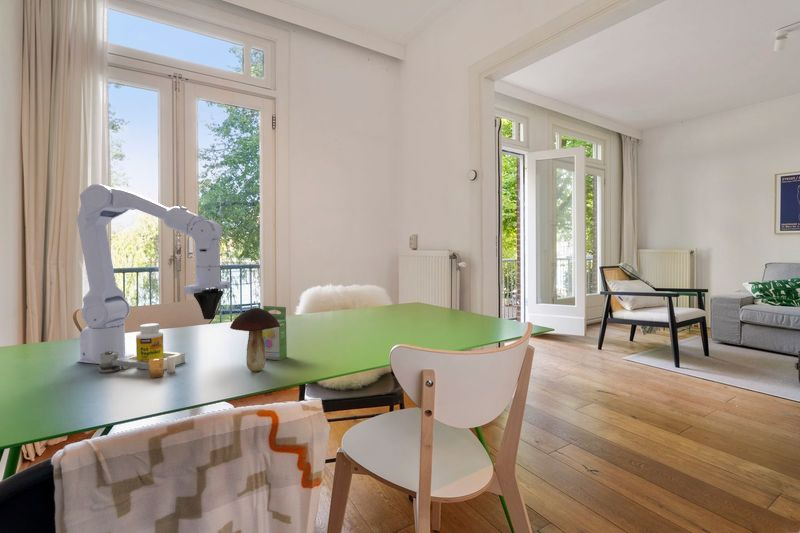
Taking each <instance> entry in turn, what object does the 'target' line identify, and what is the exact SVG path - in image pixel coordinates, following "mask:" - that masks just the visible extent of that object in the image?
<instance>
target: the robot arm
mask: <svg viewBox="0 0 800 533" xmlns="http://www.w3.org/2000/svg"><path fill="white" fill-rule="evenodd" d="M79 198H80V203H81V204H80V208H79V211H78V214H77V218H76V219H77V221H76V222H77V227H78V234H79V237H80V238H79V239H80V244H81V248H82V254H83V260H84V266H85V270H86V276H87V277H86V278H87V281H88V282H87V283H88V287H89V291H87V293H86V294H85V295H84V296H83V298H82V303H83V305H82V306H83V307H82V309H81V319H82V320H83V322H84V323H85V325H87V326H84V328H83V329H82V330H81V331H80V334H79V353H80V354H79V355H80V356H79V359H77V360H76V362H78V363H87V364H94V365H95V364H98V365H100V356H99V355H100V354H102V353H105V352H107V351H113V352H119V358H122V359H124V358H127V357H131V356H134V355H135V354H132V353H126V337H125V336H126V334H125V332H126V331H125V323H126V318H127V317H129V315H130V312H131V306H130V303H129V302H128V301H127V300H126V298H125V293H124V291H123V290H122V289H120V288H119V287H118V286H117V283H116V277H115V272H114V265H113V261H112V255H111V250H110V249H111V248H110V244H109V238H108V233H107V226H108V224H110V223H111V222H112V221H113V219H115V218H117V217H119V216H122V215H123V214H126V213H127V212H128V211H131V210H133V211H134V210H135V211H136V210H138V211H139V212H142V213H145V214H147V215H151V216H153V217H155V218H159V219H161V220H163V222H164V224H165V226H166V227H168V228H169V229H172V230H174V231H177V232H180V233H181V234H183V235H186V236H188V237H191V238H192V239H193V241H194V245H195V246H194V247H195V248H194V251H195V252H194V254H195V283H193V284H189V285H183V295H193V297H194V299H195V300H196V302H197V303H198V305H199V307H200V310H201V314H202V316H203V320H214V319H215V316H216V312H217V308H218V304H219V302H220V300H221V298H222V296H224V291H223V290H225V289H227V290H228V289H231V281H227V280H223V281H221V248H220V243H221V242H220V240H221V239H222V237H223V234H224V231H223V227H222V226H221V224H220V223H218V222H217V221H216V220H215V219H206V216H205V215H203V214H196V213H194V212H191V211H189V210H188V208H187V207H185V206H183V205H181V206H180V207H179V206H177V205H176V206H172V207H167V206H165V205H162V204H160V203H159V202H156V201H154V200H152V199H150V198H148V197H145V196H143V195H141V194H139V193H135V192H132V191H127V190H125V189H122V188H114V187H110V186H107V185H103V184H100V183H94V184H91V185H89V186H87V187H85V189H84V190H83V191H82V192H81V193H80V194H79Z"/></svg>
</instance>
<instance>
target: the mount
mask: <svg viewBox="0 0 800 533" xmlns="http://www.w3.org/2000/svg"><path fill="white" fill-rule="evenodd" d="M119 371H121V369H120V366H119V367H117V368H113V369H106V370H102V369H100V367H99V368H98V373H99V374H103V375H105V374H113V373H117V372H119Z"/></svg>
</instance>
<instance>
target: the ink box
mask: <svg viewBox="0 0 800 533" xmlns="http://www.w3.org/2000/svg"><path fill="white" fill-rule="evenodd" d="M262 309H263V310H266V311H268V312H269V311H277V312H279V313H270V312H269V313H270V314H272V315H273V316H274V317H275V318H276V319H277V321H278V322H279V324H280V327H276V328H271V329H265V330H262V332H263V338H264V344H265V355H266V360H272V361H273V360H274V361H276V360H277V361H281V360H283V359H284V358H286V357H288V351H287V350H288V349H287V344H288V342H287V339H288V338H287V320H286V319H287V317H286V316H287V307H286V306H275V305H273V306H271V305H263V308H262Z"/></svg>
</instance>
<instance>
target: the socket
mask: <svg viewBox="0 0 800 533" xmlns="http://www.w3.org/2000/svg"><path fill="white" fill-rule="evenodd" d="M163 356H164V370H167V357H169V356H175V366H177V365H180V364H183V363H185V362H186V354H185V353H184V352H174V351H173V352H172V351H164V350H163ZM124 359H131V360H137V354H134V356H131V357H127V358H124ZM128 368H130V367H124V366H120V370H126V369H128Z"/></svg>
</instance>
